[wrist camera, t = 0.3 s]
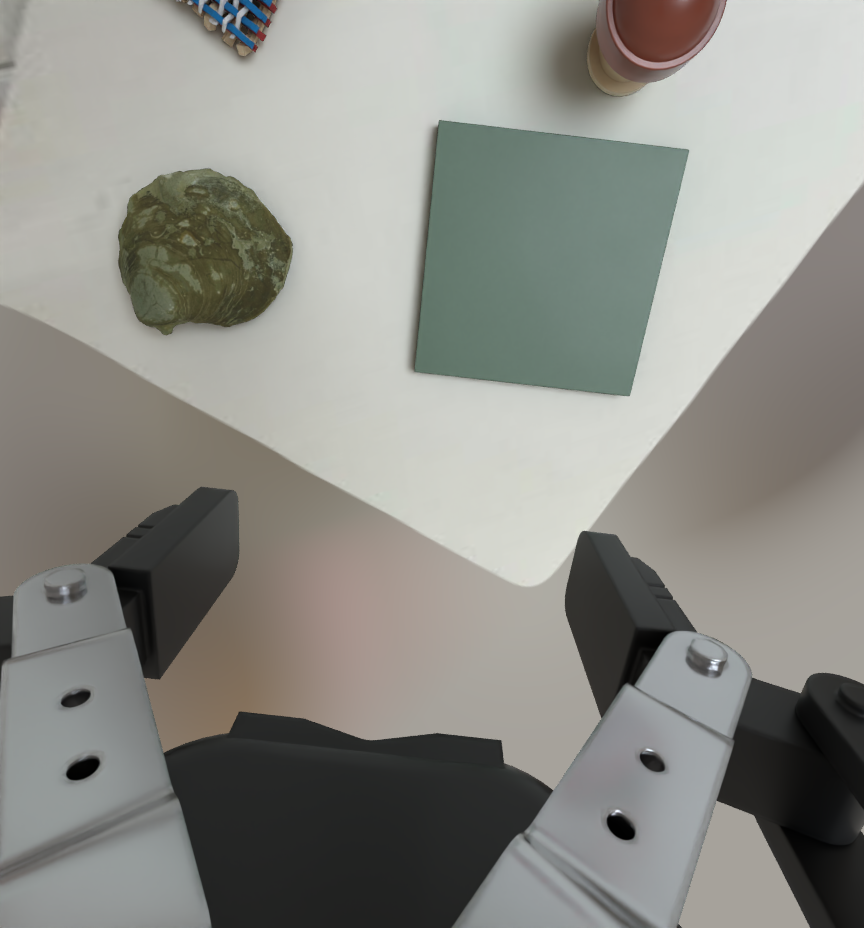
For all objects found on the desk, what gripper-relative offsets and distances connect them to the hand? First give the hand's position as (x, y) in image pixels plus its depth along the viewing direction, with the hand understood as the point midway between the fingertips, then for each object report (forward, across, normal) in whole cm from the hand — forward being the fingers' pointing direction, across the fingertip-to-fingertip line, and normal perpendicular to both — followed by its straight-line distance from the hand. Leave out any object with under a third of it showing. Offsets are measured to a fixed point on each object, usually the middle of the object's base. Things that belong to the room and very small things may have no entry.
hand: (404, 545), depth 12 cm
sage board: (+29, -7, -7) cm, 30 cm away
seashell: (+29, +16, -5) cm, 34 cm away
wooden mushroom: (+29, -10, -20) cm, 36 cm away
